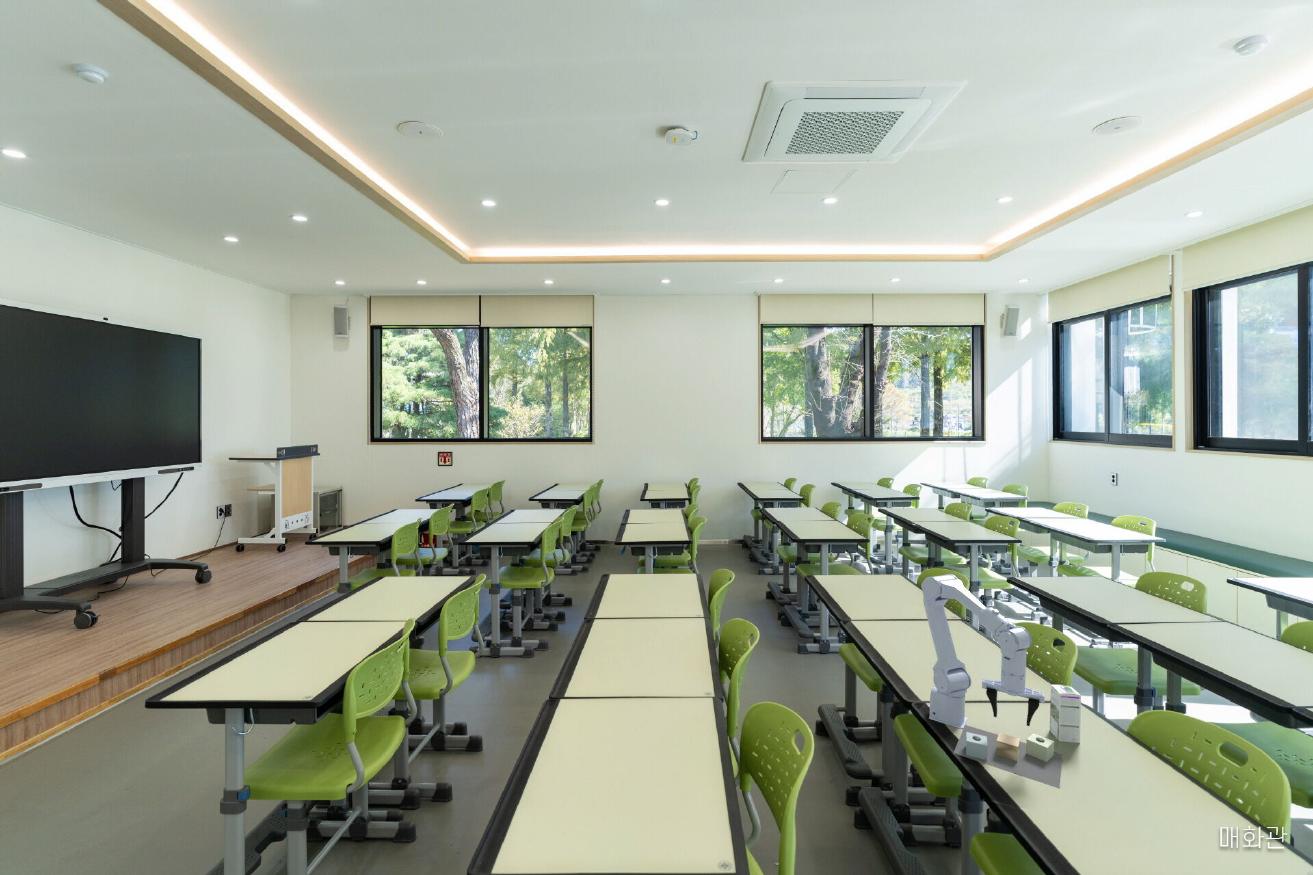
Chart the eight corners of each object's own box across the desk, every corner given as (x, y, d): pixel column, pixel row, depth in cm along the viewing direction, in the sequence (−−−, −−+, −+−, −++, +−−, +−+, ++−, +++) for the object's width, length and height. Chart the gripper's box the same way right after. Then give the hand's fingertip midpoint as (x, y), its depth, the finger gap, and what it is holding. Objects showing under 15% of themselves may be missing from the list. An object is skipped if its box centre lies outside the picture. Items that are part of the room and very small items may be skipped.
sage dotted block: (1026, 753, 157) (1026, 738, 157) (1033, 746, 160) (1033, 732, 160) (1046, 762, 153) (1047, 746, 153) (1053, 755, 156) (1054, 740, 156)
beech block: (996, 754, 157) (996, 740, 156) (998, 745, 161) (999, 732, 160) (1017, 761, 154) (1018, 746, 153) (1019, 752, 158) (1020, 738, 157)
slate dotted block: (966, 754, 156) (966, 739, 156) (965, 745, 161) (966, 730, 161) (987, 760, 154) (987, 744, 154) (986, 750, 158) (986, 735, 158)
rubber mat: (953, 754, 157) (953, 752, 157) (965, 725, 172) (965, 724, 171) (1059, 789, 143) (1059, 787, 143) (1062, 755, 157) (1062, 754, 157)
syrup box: (1080, 744, 162) (1082, 694, 162) (1057, 742, 163) (1059, 692, 163) (1070, 733, 168) (1072, 685, 167) (1048, 731, 169) (1049, 683, 168)
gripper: (981, 670, 157) (979, 717, 158) (1045, 684, 149) (1043, 735, 149) (984, 660, 163) (982, 707, 163) (1045, 674, 154) (1043, 723, 155)
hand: (1011, 719), depth 157 cm, fingers open, 7 cm apart
